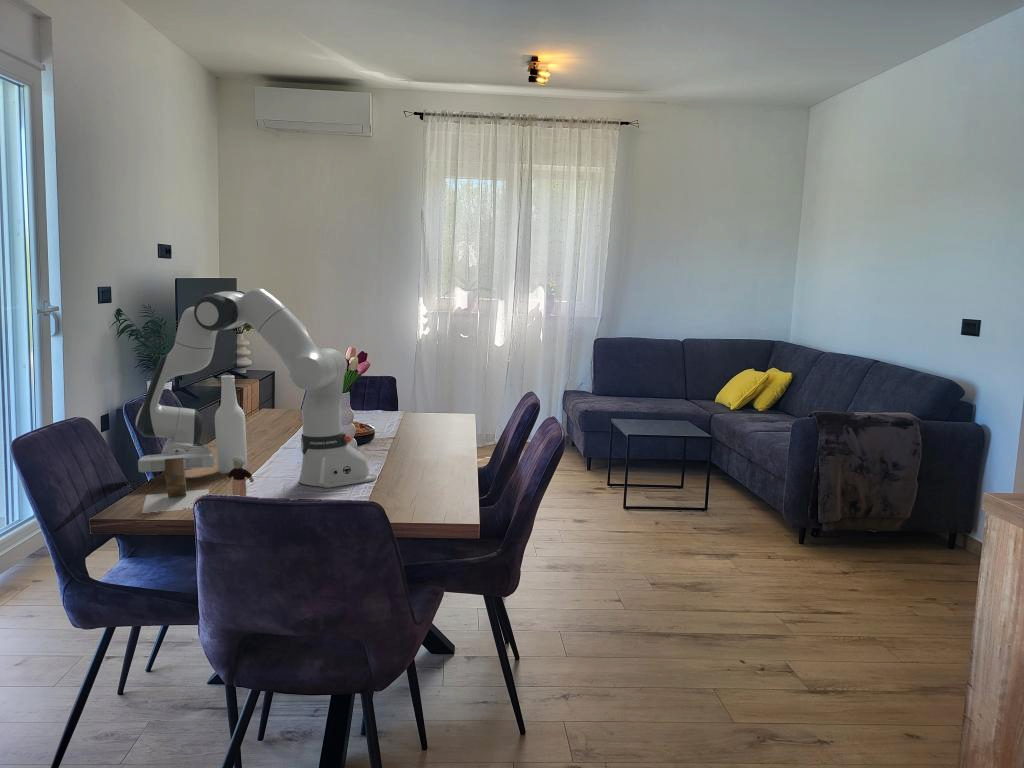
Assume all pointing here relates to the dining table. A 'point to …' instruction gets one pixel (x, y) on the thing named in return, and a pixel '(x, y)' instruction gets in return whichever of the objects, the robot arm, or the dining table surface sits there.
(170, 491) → the walnut block
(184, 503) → the felt mat
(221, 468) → the alcohol
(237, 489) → the grandmother figurine
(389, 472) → the dining table surface
